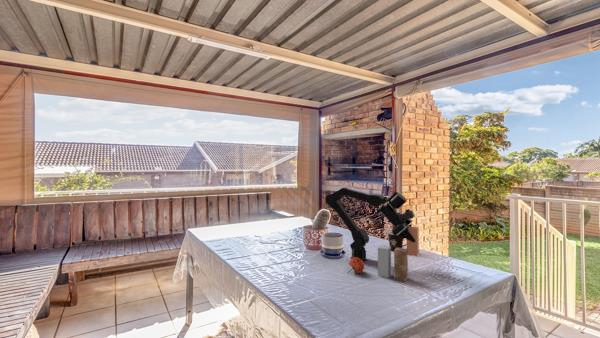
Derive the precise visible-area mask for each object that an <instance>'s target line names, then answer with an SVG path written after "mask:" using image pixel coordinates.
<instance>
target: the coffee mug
mask: <svg viewBox="0 0 600 338" xmlns="http://www.w3.org/2000/svg"><path fill="white" fill-rule="evenodd" d="M398 234H400V233H398ZM398 234H397V235H396V236H394V234H393V233H392V231H389V232H387V237H388V244H389V245H388V246H389V247H391V252H392V251H393V253H394V250H395V249H396V248H404V247H405V246H406V247H407V243H406V244H404V243H403V242H404V240H405V238H403V237H401V236H398Z"/></svg>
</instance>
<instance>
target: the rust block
mask: <svg viewBox="0 0 600 338" xmlns="http://www.w3.org/2000/svg"><path fill="white" fill-rule="evenodd" d="M419 229H420V227H418V226H412V227H410V226H408V231H409V232H410V234H411V235H412V236H413V238H414V239H415V242H412V241H410V240H408V239H406V244H407V245H406V249H407V256H413V257H418V256H419V254H420V250H419V248H420V247H419V246H420V243H419V240H420V237H419V235H420V234H419V232H420V231H419Z"/></svg>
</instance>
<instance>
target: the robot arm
mask: <svg viewBox="0 0 600 338" xmlns="http://www.w3.org/2000/svg"><path fill="white" fill-rule="evenodd" d="M345 196H346V197H350V198H353V199H356V200H358V201H359V200H360V201H363V202H365V203H367V204H369V205H371V206H373V207H376V215H379V214H380V213H381V214H382V215H383V217H384V218H386V220H388V221H387V222H388V224H389V223H390V224H391V225H392V226H393V229H391V232H392V233H393V234H394V236H396V235H397V234H398V233H400V234H398V236H401V237H403V238H404V240H407V239H408V240H410V241H412V242H415V239H414V238H413V236H412V235H411V234H410V232H409V231H408V226H410V227H413V226H412V225H413V223H412V222H413V220H412V219H413V218H415V213H414V211H413V210H412V209H409V208H408V209H405V211H404V212H403V213H401V212H397V211H396V209H397V210H399V209H400V208H401V207H403V206H404V204H406V203H407V202H408V200H407V199H406V197H405V196H404V195H403V194H401V193H399V192H398V191H394V192H393V194H392V195H391V196H389V197H385V196H383V194H379V193H367V192H363V191H359V190H356V189H353V188H352V189H351V188H348V187H341V188H340V189H339V190H337V191H335V192H333V193H331V194H326V195H325V199H324V201H325V203H326V204H327V205H328V207H330V208H331V209H332V210H334V211H335V212H336V214H337V215H338V217H339V218H340V219H341V220H342V222H343V223H344V224H345V226H346V228H347V229H348V230H349V231H350V233H351V238H352V240H353V242H352V243H350V244H349V246H350V248H351V256H350V260H351V259H352V258H353V257H357V258H360V259H363V258H364V259H363V262H366V261H368V259H367V250H366V245H367V244H369V242H370V237H369V235H370V233H367V231H366V230H365V228H364V227H363V228H362V229H361V228H360V227H359V226H358V225H357V223H356V222H355V221H354V220H353V218H352V217H351V216H350V214H349V213H348V211H347V210H346V208H344V206H343V202H342V199H343V198H344V197H345ZM385 204H386V205H385ZM377 207H380V208H377Z"/></svg>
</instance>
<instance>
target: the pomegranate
mask: <svg viewBox="0 0 600 338" xmlns="http://www.w3.org/2000/svg"><path fill="white" fill-rule="evenodd" d="M363 259H364V258H363ZM363 259H360V258H357V257H353V258H352V259H351V258H350V259H349V263H348V264H349V266H350V267H351V269H350V270H349V271H348V272H347V274H349V273H350V272H351V271H352V270H353V271H354V272H356V274H357V275H358V274H361V273H363V271H364V270H365V263H364V261H363Z"/></svg>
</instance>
